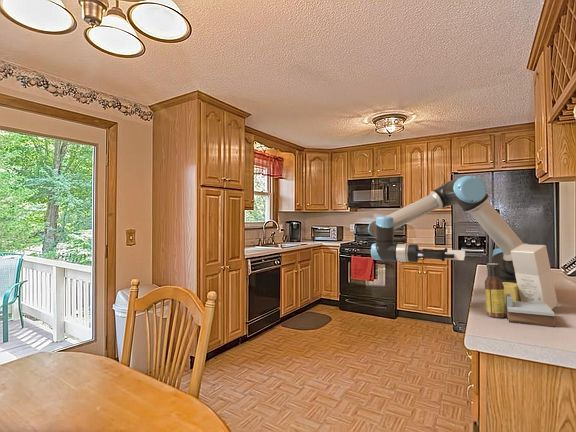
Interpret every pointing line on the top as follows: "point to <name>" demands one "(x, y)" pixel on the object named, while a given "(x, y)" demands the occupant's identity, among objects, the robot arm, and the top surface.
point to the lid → (527, 307)
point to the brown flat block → (530, 319)
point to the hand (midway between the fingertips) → (464, 255)
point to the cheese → (512, 290)
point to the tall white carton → (534, 274)
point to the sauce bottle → (494, 292)
